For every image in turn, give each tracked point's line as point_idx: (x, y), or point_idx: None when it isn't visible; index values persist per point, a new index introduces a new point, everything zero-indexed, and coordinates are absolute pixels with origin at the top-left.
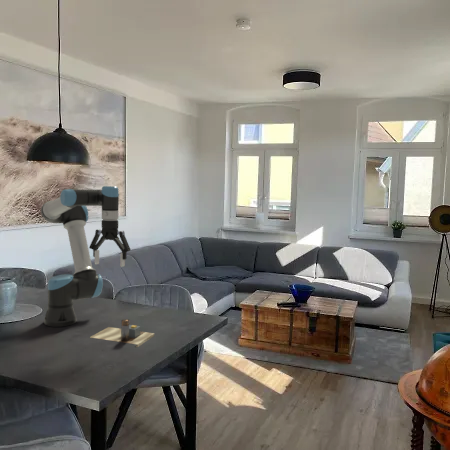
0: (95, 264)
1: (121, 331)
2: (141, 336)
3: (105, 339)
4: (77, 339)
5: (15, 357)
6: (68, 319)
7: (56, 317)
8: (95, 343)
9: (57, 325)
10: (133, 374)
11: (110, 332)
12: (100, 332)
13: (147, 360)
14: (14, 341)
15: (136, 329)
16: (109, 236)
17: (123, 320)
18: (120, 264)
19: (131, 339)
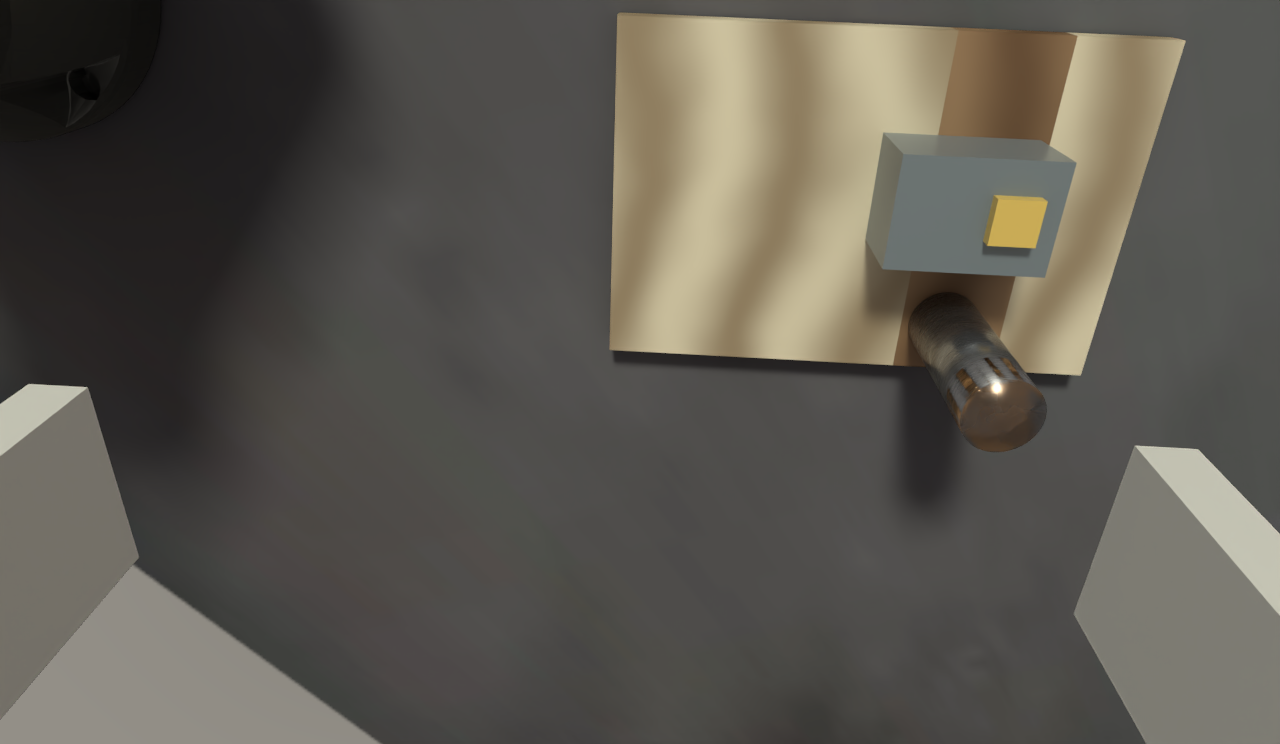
0: (120, 558)
1: (934, 382)
2: None
3: (767, 355)
4: (508, 347)
5: (381, 693)
6: (115, 42)
7: (19, 128)
8: (696, 380)
9: (94, 120)
10: None
11: (721, 175)
12: (630, 207)
13: None
14: (136, 510)
15: (1049, 245)
16: None
17: (981, 426)
18: (1113, 678)
19: (991, 286)
